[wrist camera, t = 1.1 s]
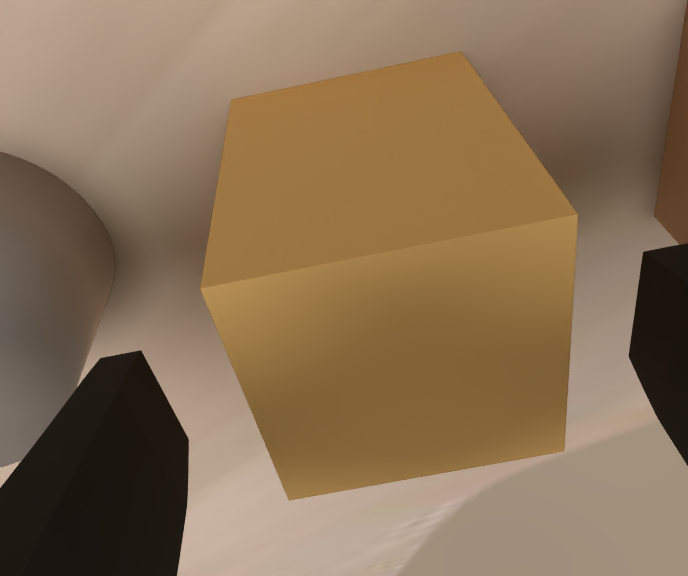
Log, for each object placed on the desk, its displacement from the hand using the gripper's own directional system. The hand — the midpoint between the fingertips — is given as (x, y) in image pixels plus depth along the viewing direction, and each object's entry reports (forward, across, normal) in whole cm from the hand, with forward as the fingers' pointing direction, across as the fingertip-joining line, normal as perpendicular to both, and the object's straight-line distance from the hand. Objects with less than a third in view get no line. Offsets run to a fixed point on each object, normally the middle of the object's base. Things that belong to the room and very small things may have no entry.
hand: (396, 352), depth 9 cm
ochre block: (+5, 0, 0) cm, 5 cm away
